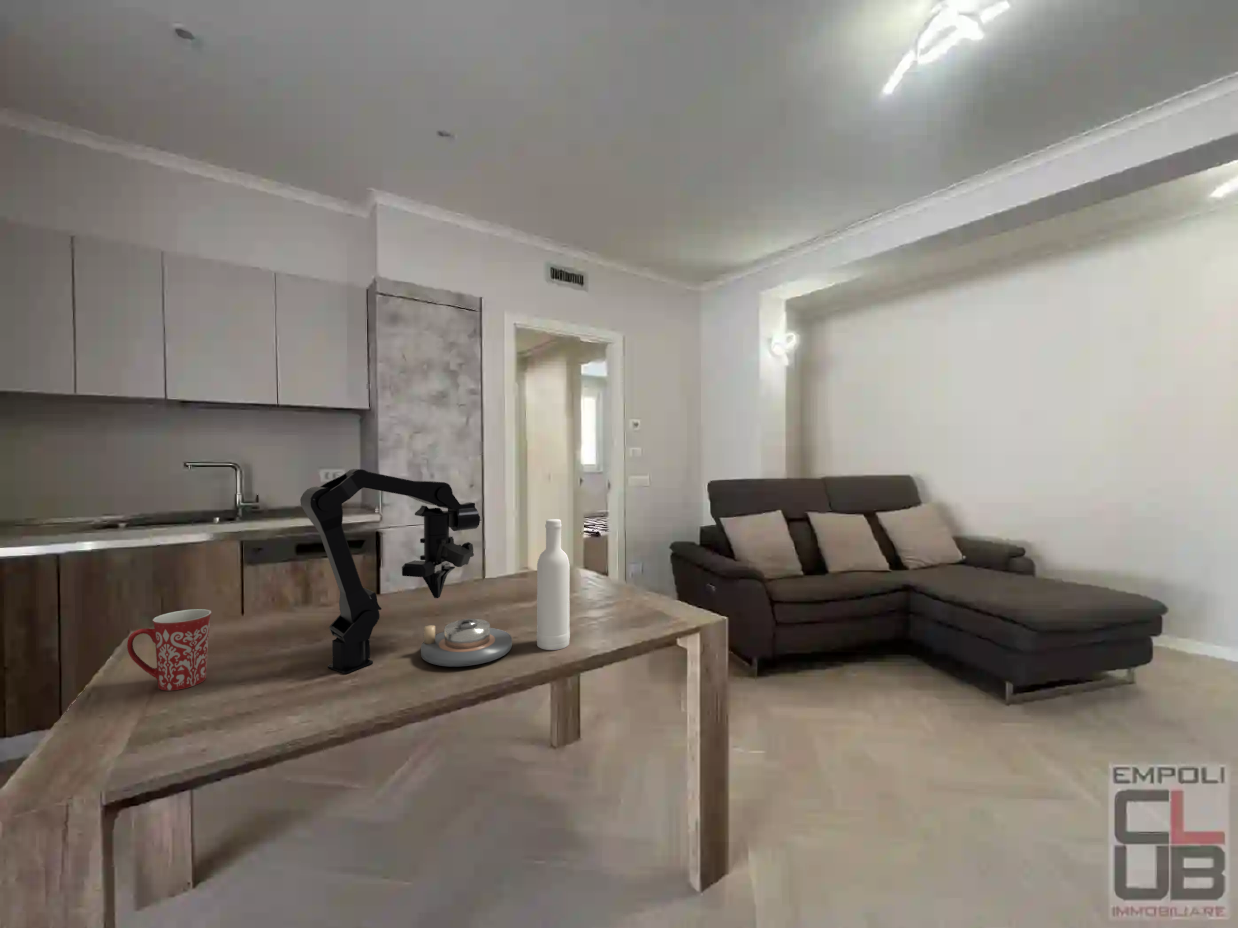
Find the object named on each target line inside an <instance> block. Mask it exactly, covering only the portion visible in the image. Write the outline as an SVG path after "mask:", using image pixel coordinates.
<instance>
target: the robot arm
mask: <svg viewBox="0 0 1238 928" xmlns="http://www.w3.org/2000/svg"><path fill="white" fill-rule="evenodd" d="M362 489H367V490H373V491H377V492H385V493H389V494H395V495H401V496H406V497H408V498H411V499H413V500H415V501H418V502H421V503H423V504H425V505H421V506H420V508H419V509H417V510H416V511H415V512H414V516H416V517H423V537H422V538H419V539H420V540H419V543H420V544H423V554H422V555H420V556H419V559H420V560H412V561H411V560H410V561H408V562H404V564H403V565H402V566H401V576H402V577H410V578H411V577H413V578H422V579H423V581H424V582H425V583H426V586H427V587H428V589H429V590H430V593H431V595H432V597H433V598H434V599H439V598H440V597H441V594H442V591H443V588H444V585H445V582H446V579H447V576H448V575H449V574H450V573H451V571H453V570H455V568H456V567H457V568H461V567H463V566H465V565H469V563H470V559H471V558H472V557H474V556H475V554H474V544H473V543H471V542H469V541H467V542H464V543H463V544H460V543H459V544H456V543H455V540H454V537H453V536H450V529H451V530H452V531H453V532H459V531H467V530H469V531H470V530H476V529H477V528H479V526H480V523H481V517H480V513H479V510H478V509H477V508H476V503H475V502H472V501H470V502H469V501H468V502H465V503H460V502H459V500H458V499H457V498H456V497H455V494H453V488H452V487H451V485H450V484H449V483H448V482H444V481H434V480H411V479H410V480H409V479H406V478H400V477H398V476H397V477H396V476H391V475H388V474H387V475H385V474H380V473H378V472H377V473H376V472H371V471H367V470H366V469H362V468H352V469H349V470H347V471H346V472H345V473H343V474H342V475H340V476H337V477H335V478H332V479H331V480H329V481H328V482H327V481H326V482H325V483H324V484H322V485H320V486H312V487H310V488H307V489H306V490H304V492H303V493H302V494H301V497H300V498H299V499H300V500H299V502H300V506H301V508H302V509H303V511H304V513H305V514H306V516H307V519H309V521H310V522H311V524H312V526H314V527H315V529H316V530H317V531H318V533H319V536H320V539H321V541H322V544H323V547H324V550H325V554H326V556H327V558H328V559H327V560H328V561H329V562H328V563H329V564H330V567H331V570H332V574H333V575H334V578H335V581H336V584H337V587H338V590H339V601H338V605H339V612H340V613H339V615H338V616H337V617H336V619H335V620H333V622H332V623H331V624H330V625H329V627H328V628H329V631H330V633H331V635H332V636H334V637H335V638H334V639H333V640H331V641H332V643H331V644H332V647H331V649H332V650H331V651H332V653H331V654H332V656H331V657H332V660H331V661H332V663H330V664H328V665H327V668H328V669H330V670H333V671H336V672H339V673H342V674H346V675H347V674H349V673H352V672H354V671H357V670H359V669H362V668H366V667H367V666H370V665H373V664H374V660H372V659H371V658H370V657H371V640H370V638H371V635H372V633H373V630H374V627H375V626H376V625H377V624H378V622H379V620H380V618H381V617H380V616H381V615H380V611H381V610H382V607H381V606H380V605H379V603H378V597H377V593H376V592H374V591H372V590H370V589H368V588H366V587H364V586H363V584H362V582H361V579H360V575H359V572H358V569H357V567H356V563H355V561H354V558H353V555H352V553H351V550H350V547H349V543H348V541H347V537H346V534H345V531H344V527H343V521H344V519H343V518H344V510H343V504H344V503H345V502H347V501H348V500H350V499H351V498H352V497H354V495H356V494H357V493H358V492H359V491H360V490H362ZM427 505H430V506H436V507H430V508H429V507H428V506H427ZM442 508H443V509H447V510H442ZM451 565H453V566H451Z"/></svg>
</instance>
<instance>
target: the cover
mask: <svg viewBox="0 0 1238 928" xmlns="http://www.w3.org/2000/svg"><path fill="white" fill-rule="evenodd" d="M490 628H491V624H490V622H489V621H488V620H485V619H481V618H480V619H479V618H477V619H476V618H463V619H459V620H456V621H455V620H454V621H452V622H450V623H448V624H446V625H445V626H444V632H445V646H447V647H449V648H452V649H471V648H476V647H480V646H483V645H485V644H487V643H488V642H489V641H490Z"/></svg>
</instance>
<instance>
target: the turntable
mask: <svg viewBox="0 0 1238 928" xmlns="http://www.w3.org/2000/svg"><path fill="white" fill-rule="evenodd" d="M423 628H424V629H423V642H422V643H421V644H420V656H421V659H423V660H424V661H425V662H426V663H429V664H433V665H435V666H436V665H437V666H442V667H468V666H475V665H481V664H482V665H483V664H485V663H490V662H492V661H495V660H497V659H500V658H503V656H505V655H506V654H508V653H509V652H510V651H511V649H512V645H513V640H512V639H513V638H512V635H511V634H510V633H509V632H507V631H505V630H502V629H498V628H494V627H490V641H489V642H488V643H487V644H485V645H483V646H480V647H476V648H471V649H452V648H449V647H447V646H445V631H442V632H439V633H436V625H434V624H432V625H431V624H430V625H429V624H428V625H426V626H423Z"/></svg>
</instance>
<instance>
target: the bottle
mask: <svg viewBox="0 0 1238 928" xmlns="http://www.w3.org/2000/svg"><path fill="white" fill-rule="evenodd" d="M562 526H563V525H562V520H561V519H559V518H548V519H546V520H545V549H544V550H542V552H541V553H540V554H539V556H538V559H537V564H536V571H537V572H536V577H537V578H536V626H537V627H536V645H537V647H538V648H539V649H541V650H544V651H545V650H546V651H556V650H557V651H558V650H562V649H565V648H567V647H568V646H570V639H571V638H570V637H571V629H570V607H571V606H570V605H571V604H570V603H571V602H570V601H571V600H570V599H571V598H570V597H571V596H570V589H571V588H570V583H571V582H570V578H571V577H570V576H571V575H570V571H571V570H570V568H571V566H570V560H569V556H568V554H567V553H566V552H565V551H564V550H563V549H562Z"/></svg>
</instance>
